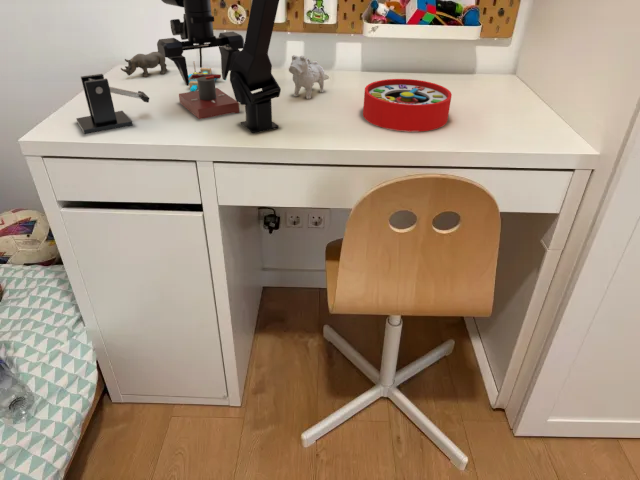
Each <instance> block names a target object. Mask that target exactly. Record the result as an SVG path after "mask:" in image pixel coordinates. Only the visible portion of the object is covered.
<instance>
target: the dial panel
mask: <svg viewBox="0 0 640 480" xmlns="http://www.w3.org/2000/svg"><path fill="white" fill-rule="evenodd" d="M178 98H179V104H181V106H183V107H184V108H185V109H187V110H188V111H189V112H190V113H191V114H192V115H194V116H195V117H196V118H197V119H198V120H202V119H207V118H213V117H218V116H224V115H229V114H239V113H240V102H237V101H236V99H235V98H233V97H231V96H230V95H229V94H227V93H226V92H225V91H223V90H221V89H220V88H218V87H216V99H213V100H201V99H200V98H199V90H195V91H188V92H180V93H178Z"/></svg>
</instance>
